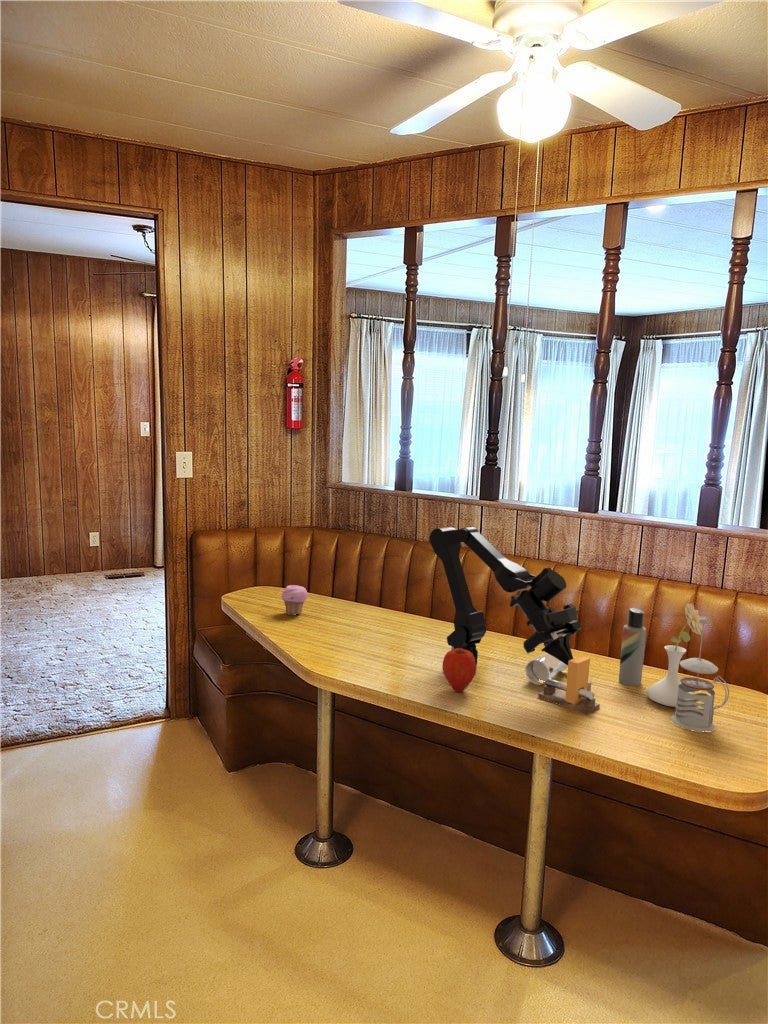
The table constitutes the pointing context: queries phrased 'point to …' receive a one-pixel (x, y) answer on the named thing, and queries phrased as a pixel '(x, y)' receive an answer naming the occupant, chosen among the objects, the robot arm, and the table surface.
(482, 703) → the table surface
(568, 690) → the collar
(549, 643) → the robot arm
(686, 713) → the french press
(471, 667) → the red strawberry
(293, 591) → the cupcake
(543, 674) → the beer glass
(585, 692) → the steel pipe
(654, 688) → the flower in vase
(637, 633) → the lotion bottle
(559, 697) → the pipe board
